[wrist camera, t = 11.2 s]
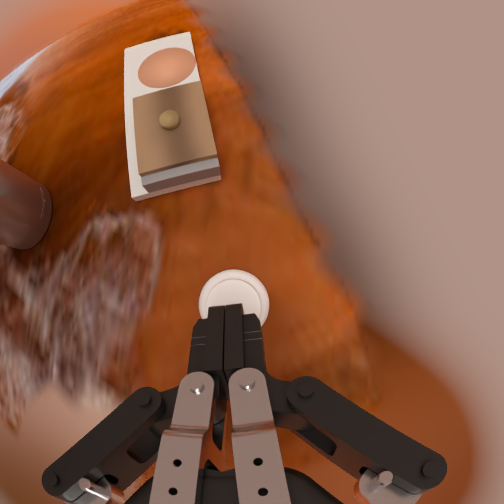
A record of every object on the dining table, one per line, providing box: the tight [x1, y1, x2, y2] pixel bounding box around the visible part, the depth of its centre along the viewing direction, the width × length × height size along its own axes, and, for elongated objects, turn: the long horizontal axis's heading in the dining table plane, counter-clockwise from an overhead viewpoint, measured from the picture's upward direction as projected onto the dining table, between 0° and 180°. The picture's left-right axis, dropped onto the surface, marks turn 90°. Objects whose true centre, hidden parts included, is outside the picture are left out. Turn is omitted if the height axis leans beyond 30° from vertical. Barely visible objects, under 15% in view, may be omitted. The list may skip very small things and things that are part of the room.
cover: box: [133, 81, 218, 177], centre depth 28 cm, size 8×10×4 cm
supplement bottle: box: [199, 270, 269, 326], centre depth 25 cm, size 6×6×10 cm
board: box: [124, 32, 221, 201], centre depth 30 cm, size 10×25×4 cm, turn 13°
